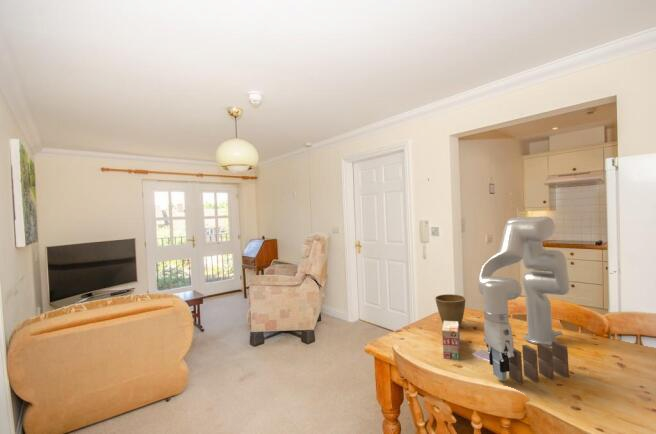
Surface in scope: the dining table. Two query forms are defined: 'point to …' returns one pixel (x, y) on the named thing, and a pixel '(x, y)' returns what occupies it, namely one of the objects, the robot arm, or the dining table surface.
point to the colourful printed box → (451, 340)
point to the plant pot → (451, 307)
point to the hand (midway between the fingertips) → (499, 367)
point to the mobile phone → (482, 354)
